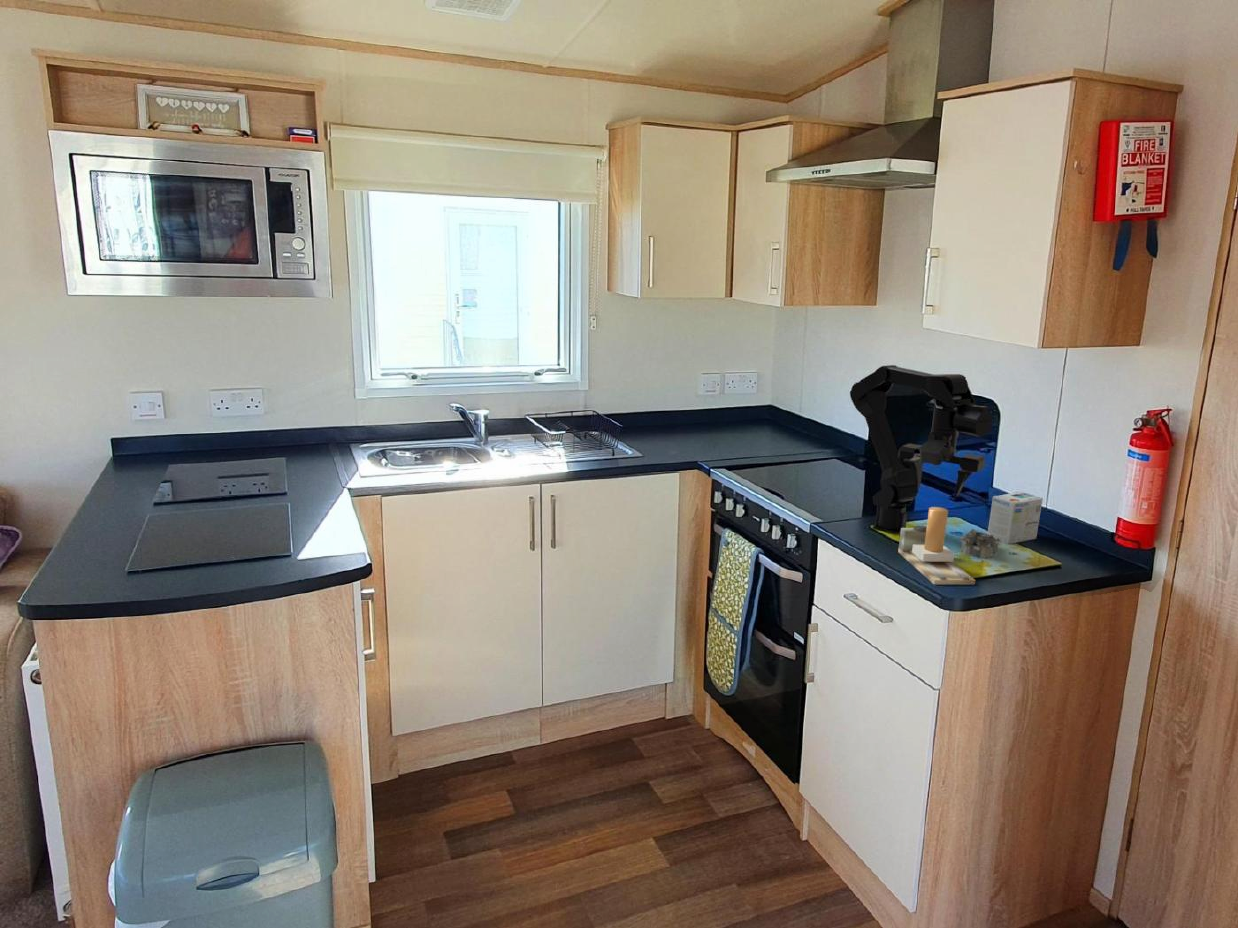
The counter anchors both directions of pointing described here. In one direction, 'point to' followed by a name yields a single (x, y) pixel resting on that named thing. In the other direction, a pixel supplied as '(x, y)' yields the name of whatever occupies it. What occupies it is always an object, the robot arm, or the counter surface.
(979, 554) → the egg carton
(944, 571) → the rail board
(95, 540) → the counter surface
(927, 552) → the rubber stamp
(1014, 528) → the light bulb box
